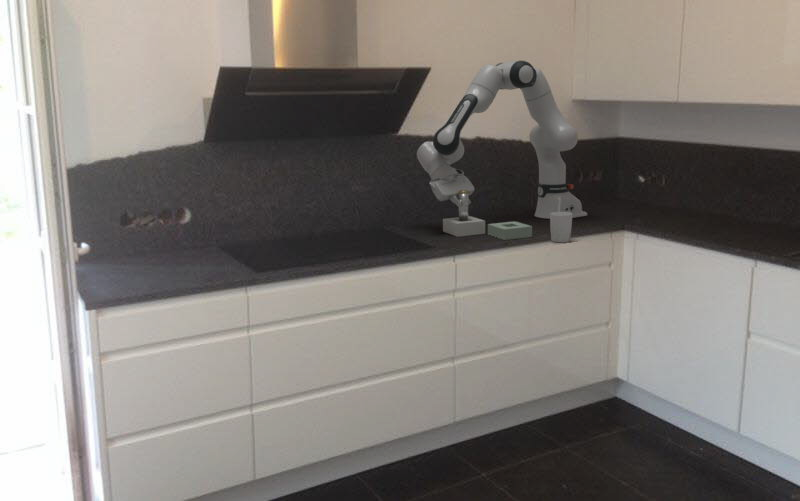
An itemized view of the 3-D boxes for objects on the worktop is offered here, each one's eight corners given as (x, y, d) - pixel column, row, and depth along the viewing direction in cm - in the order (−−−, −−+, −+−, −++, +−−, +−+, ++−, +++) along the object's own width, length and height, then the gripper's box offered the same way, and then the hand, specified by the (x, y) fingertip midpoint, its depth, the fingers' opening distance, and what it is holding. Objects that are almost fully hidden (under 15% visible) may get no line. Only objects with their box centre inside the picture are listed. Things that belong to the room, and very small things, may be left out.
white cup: (553, 238, 274) (554, 211, 272) (574, 239, 270) (575, 212, 268) (546, 242, 268) (546, 214, 265) (567, 243, 264) (568, 216, 261)
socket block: (514, 231, 288) (515, 221, 287) (532, 236, 277) (532, 226, 276) (487, 234, 283) (487, 224, 282) (503, 240, 272) (504, 229, 272)
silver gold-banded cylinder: (465, 220, 290) (465, 189, 287) (469, 221, 286) (469, 190, 284) (457, 221, 288) (457, 190, 286) (461, 222, 285) (461, 191, 282)
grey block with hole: (470, 228, 296) (470, 216, 295) (485, 233, 285) (485, 220, 284) (443, 231, 291) (442, 218, 290) (457, 236, 281) (457, 223, 279)
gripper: (431, 175, 280) (452, 203, 276) (464, 169, 295) (485, 196, 291) (423, 186, 284) (443, 213, 280) (456, 180, 299) (475, 206, 295)
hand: (464, 204), depth 285 cm, fingers closed on silver gold-banded cylinder, 4 cm apart
